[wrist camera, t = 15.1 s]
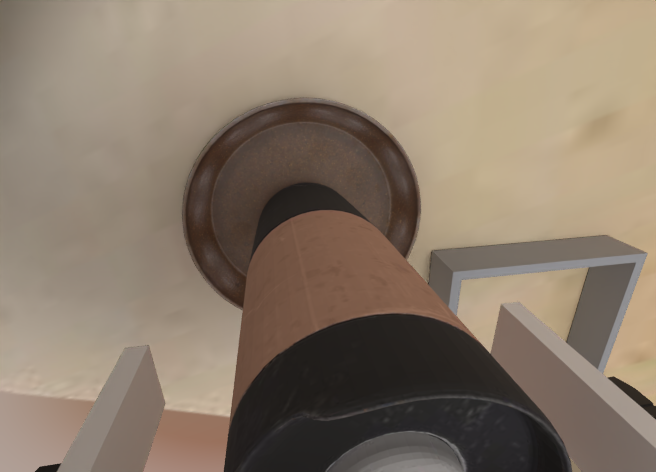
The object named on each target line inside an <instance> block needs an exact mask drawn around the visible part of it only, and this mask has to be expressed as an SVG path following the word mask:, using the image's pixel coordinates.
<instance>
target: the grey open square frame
mask: <svg viewBox="0 0 656 472" xmlns="http://www.w3.org/2000/svg"><path fill="white" fill-rule="evenodd" d="M646 256H647V253H646V252H644V251H642V250H639V249H637V248H635V247H632V246H630V245H628V244H625V243H623V242H621V241H619V240H616V239H614V238H612V237H609V236H607V235H604V236H593V237H582V238H570V239H559V240H548V241H536V242H525V243H514V244H503V245H491V246H480V247H469V248H458V249H446V250H435V251H432V256H431V266H430V275H429V286H430V287H431V288H432V289H433V291H434V292H435V293H436V294H437V295H438V296H439V297H440V298H441V300H442V301H443V302H444V303H445V304H446V305H447V306H448V307H449V308H450V310H451V311H452V312H453V313H454V314H455V315H457V308H458V301H459V294H460V287H461V280H466V279H476V278H486V277H496V276H506V275H515V274H525V273H535V272H545V271H555V270H565V269H575V268H585V267H589V271H588V274H587V277H586V281H585V284H584V287H583V290H582V294H581V297H580V300H579V304H578V307H577V310H576V313H575V317H574V320H573V323H572V327H571V330H570V333H569V336H568V340H567V344H568V345H570V346H571V347H572V348H573V349H574V350H575V351H577V352H578V353H579V354H580V355H581V356H582V357H584V358H585V359H586V360H587V361H588V362H589V363H591V364H592V365H593V366H594V367H595V368H596V369H598V370H599V371H600V372H601V373H602V374H603V372H604V369H605V367H606V364H607V361H608V358H609V356H610V353H611V350H612V348H613V345H614V342H615V340H616V337H617V334H618V332H619V329H620V326H621V323H622V321H623V318H624V315H625V313H626V310H627V307H628V305H629V302H630V299H631V297H632V294H633V291H634V288H635V286H636V283H637V280H638V278H639V275H640V272H641V270H642V267H643V264H644V262H645V259H646Z"/></svg>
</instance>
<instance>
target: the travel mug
mask: <svg viewBox="0 0 656 472" xmlns="http://www.w3.org/2000/svg"><path fill="white" fill-rule="evenodd" d="M224 472H572V468H571V461H570V458H569V455H568V453H567V450H566V447H565V445H564V442H563V440H562V439H561V437H560V436H559V434H558V433H557V431H556V429H555V428H554V426H553V425H552V423H551V422H550V421H549V419H548V418H547V417H546V416H545V414H544V413H543V412H542V411H541V410H540V409H539V407H538V406H537V405H536V404H535V403H534V402H533V401H532V400H531V399H530V397H529V396H528V395H527V394H526V393H525V392H524V391H523V390H522V389H521V387H520V386H519V385H518V384H517V383H516V382H515V381H514V380H513V379H512V377H511V376H510V375H509V374H508V373H507V372H506V371H505V370H504V369H503V367H502V366H501V365H500V364H499V363H498V362H497V361H496V360H495V359H494V357H493V356H492V355H491V354H490V353H489V352H488V351H487V350H486V349H485V347H484V346H483V345H482V344H481V343H480V342H479V341H478V340H477V339H476V337H475V336H474V335H473V334H472V333H471V332H470V331H469V330H468V328H467V327H466V326H465V325H464V324H463V323H462V322H461V321H460V320H459V318H458V317H457V316H456V315H455V314H454V313H453V312H452V311H451V310H450V308H449V307H448V306H447V305H446V304H445V303H444V302H443V301H442V300H441V298H440V297H439V296H438V295H437V294H436V293H435V292H434V291H433V289H432V288H431V287H430V286H429V285H428V284H427V283H426V282H425V281H424V279H423V278H422V277H421V276H420V275H419V274H418V273H417V272H416V271H415V269H414V268H413V267H412V266H411V265H410V264H409V263H408V262H407V261H406V259H405V258H404V257H403V256H402V255H401V254H400V253H399V252H398V250H397V249H396V248H395V247H394V246H393V245H392V244H391V243H390V242H389V240H388V239H387V238H386V237H385V236H384V235H383V234H382V233H381V232H380V231H379V230H378V229H377V228H376V227H375V226H374V225H373V224H372V223H371V222H370V221H369V220H368V219H367V218H366V217H365V216H363V215H362V214H361V213H360V212H359V211H358V210H357V209H356V208H355V207H354V206H353V205H351V204H350V203H349V202H348V201H347V200H346V199H345V198H344V197H343V196H341V195H340V194H339V193H338V192H336V191H335V190H333V189H331V188H330V187H327V186H325V185H322V184H318V183H298V184H294V185H291V186H288V187H286V188H284V189H282V190H280V191H279V192H277V193H276V194H275V195H274V196H273V197H272V198H271V199H270V200H269V201H268V202H267V204H266V205H265V207H264V209H263V210H262V213H261V215H260V218H259V222H258V226H257V230H256V235H255V239H254V244H253V248H252V253H251V258H250V262H249V267H248V272H247V280H246V288H245V297H244V305H243V314H242V322H241V331H240V339H239V348H238V356H237V365H236V373H235V382H234V390H233V399H232V407H231V416H230V425H229V434H228V442H227V449H226V458H225V466H224Z"/></svg>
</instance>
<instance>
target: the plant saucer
mask: <svg viewBox="0 0 656 472" xmlns="http://www.w3.org/2000/svg"><path fill="white" fill-rule="evenodd" d="M298 183H318V184H322V185H325V186H327V187H330V188H331V189H333V190H335V191H336V192H338V193H339V194H340V195H341V196H343V197H344V198H345V199H346V200H347V201H348V202H349V203H350V204H351V205H353V206H354V207H355V208H356V209H357V210H358V211H359V212H360V213H361V214H362V215H363V216H365V217H366V218H367V219H368V220H369V221H370V222H371V223H372V224H373V225H374V226H375V227H376V228H377V229H378V230H379V231H380V232H381V233H382V234H383V235H384V236H385V237H386V238H387V239H388V240H389V242H390V243H391V244H392V245H393V246H394V247H395V248H396V249H397V250H398V252H399V253H400V254H401V255H402V256H403V257H404V258H405V259H406V260H407V258H408V257H409V255H410V253H411V250H412V248H413V246H414V243H415V240H416V237H417V233H418V230H419V223H420V214H421V199H420V190H419V185H418V181H417V177H416V174H415V171H414V168H413V166H412V164H411V162H410V159H409V158H408V156H407V154H406V152H405V151H404V149H403V147H402V146H401V145H400V143H399V142H398V141H397V140H396V138H395V137H394V136H393V135H392V134H391V133H390V132H389V131H388V130H387V129H386V128H385V127H384V126H382V125H381V124H380V123H379V122H377V121H376V120H375V119H373V118H372V117H370V116H368V115H367V114H365V113H363V112H361V111H359V110H357V109H355V108H352V107H350V106H347V105H345V104H342V103H338V102H335V101H330V100H325V99H317V98H294V99H286V100H280V101H276V102H272V103H268V104H265V105H262V106H260V107H257V108H255V109H252V110H250V111H248V112H246V113H244V114H243V115H241V116H239V117H237V118H236V119H234V120H233V121H231V122H230V123H229V124H227V125H226V126H225V127H224V128H223V129H221V130H220V131H219V132H218V133H217V134H216V135H215V136H214V137H213V138H212V139H211V140H210V141H209V142H208V144H207V145H206V146H205V148H204V149H203V150H202V152H201V153H200V155H199V157H198V158H197V160H196V162H195V164H194V166H193V168H192V170H191V172H190V175H189V177H188V181H187V184H186V188H185V192H184V198H183V209H182V220H183V230H184V236H185V240H186V244H187V247H188V250H189V252H190V255H191V257H192V260H193V262H194V264H195V266H196V267H197V269H198V271H199V272H200V273H201V275H202V276H203V278H204V279H205V280H206V282H207V283H208V284H209V285H210V286H211V287H212V288H213V289H214V290H215V291H216V292H217V293H218V294H219V295H220V296H221V297H222V298H224V299H225V300H226V301H228V302H229V303H231V304H233V305H234V306H235V307H237V308H239V309H241V310H243V305H244V297H245V288H246V280H247V272H248V267H249V262H250V258H251V253H252V248H253V244H254V239H255V235H256V230H257V226H258V222H259V218H260V215H261V213H262V210H263V209H264V207H265V205H266V204H267V202H268V201H269V200H270V199H271V198H272V197H273V196H274V195H275V194H276V193H277V192H279V191H280V190H282V189H284V188H286V187H288V186H291V185H294V184H298Z"/></svg>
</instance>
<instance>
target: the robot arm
mask: <svg viewBox="0 0 656 472" xmlns="http://www.w3.org/2000/svg"><path fill="white" fill-rule="evenodd" d="M491 355H492V356H493V357H494V359H495V360H496V361H497V362H498V363H499V364H500V365H501V366H502V367H503V369H504V370H505V371H506V372H507V373H508V374H509V375H510V376H511V377H512V379H513V380H514V381H515V382H516V383H517V384H518V385H519V386H520V387H521V389H522V390H523V391H524V392H525V393H526V394H527V395H528V396H529V397H530V399H531V400H532V401H533V402H534V403H535V404H536V405H537V406H538V407H539V409H540V410H541V411H542V412H543V413H544V414H545V416H546V417H547V418H548V419H549V421H550V422H551V423H552V425H553V426H554V428H555V429H556V431H557V433H558V434H559V436H560V437H561V439H562V440H563V442H564V445H565V447H566V450H567V453H568V455H569V457H570V458H571V459H572V460H573V461H574V463H575V464H576V465H577V466H578V468H579V469H580V470H581V471H582V472H656V406H654V405H653V403H652V402H651V401H650V400H648V399H647V398H646V397H645V396H644V395H642V394H641V393H640V392H639V391H638V390H636V389H635V388H633V387H632V386H630V385H628V384H626V383H624V382H623V381H621V380H619V379H617V378H616V377H608V378H607V377H606V376H605V375H603V374H602V373H601V372H600V371H599V370H598V369H596V368H595V367H594V366H593V365H592V364H591V363H589V362H588V361H587V360H586V359H585V358H584V357H582V356H581V355H580V354H579V353H578V352H577V351H575V350H574V349H573V348H572V347H571V346H570V345H568V344H567V343H566V342H565V341H564V340H563V339H562V338H560V337H559V336H558V335H557V334H556V333H555V332H553V331H552V330H551V329H550V328H549V327H548V326H546V325H545V324H544V323H543V322H542V321H541V320H539V319H538V318H537V317H536V316H535V315H534V314H532V313H531V312H530V311H529V310H528V309H527V308H525V307H524V306H523V305H522V304H521V303H520V302H513V303H504V304H501V307H500V311H499V316H498V321H497V326H496V330H495V335H494V340H493V345H492V350H491ZM164 406H165V400H164V397H163V393H162V390H161V386H160V383H159V380H158V376H157V373H156V369H155V366H154V362H153V359H152V355H151V352H150V348H149V345H147V346H138V347H130V348H125V349H124V351H123V352H122V354H121V356H120V358H119V360H118V361H117V363H116V365H115V367H114V369H113V371H112V372H111V374H110V376H109V378H108V380H107V381H106V383H105V385H104V387H103V389H102V391H101V392H100V394H99V396H98V398H97V400H96V401H95V403H94V405H93V407H92V409H91V411H90V413H89V414H88V416H87V418H86V420H85V422H84V423H83V425H82V427H81V429H80V431H79V432H78V434H77V436H76V438H75V440H74V441H73V444H72V445H71V447H70V449H69V451H68V452H67V454H66V456H65V458H64V460H63V462H62V463H61V464H55V465H48V466H42V467H39V468H38V469H37V470H36V471H35V472H143V471H144V468H145V464H146V462H147V459H148V455H149V452H150V449H151V446H152V443H153V440H154V437H155V434H156V431H157V428H158V425H159V422H160V418H161V415H162V412H163V409H164Z"/></svg>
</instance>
